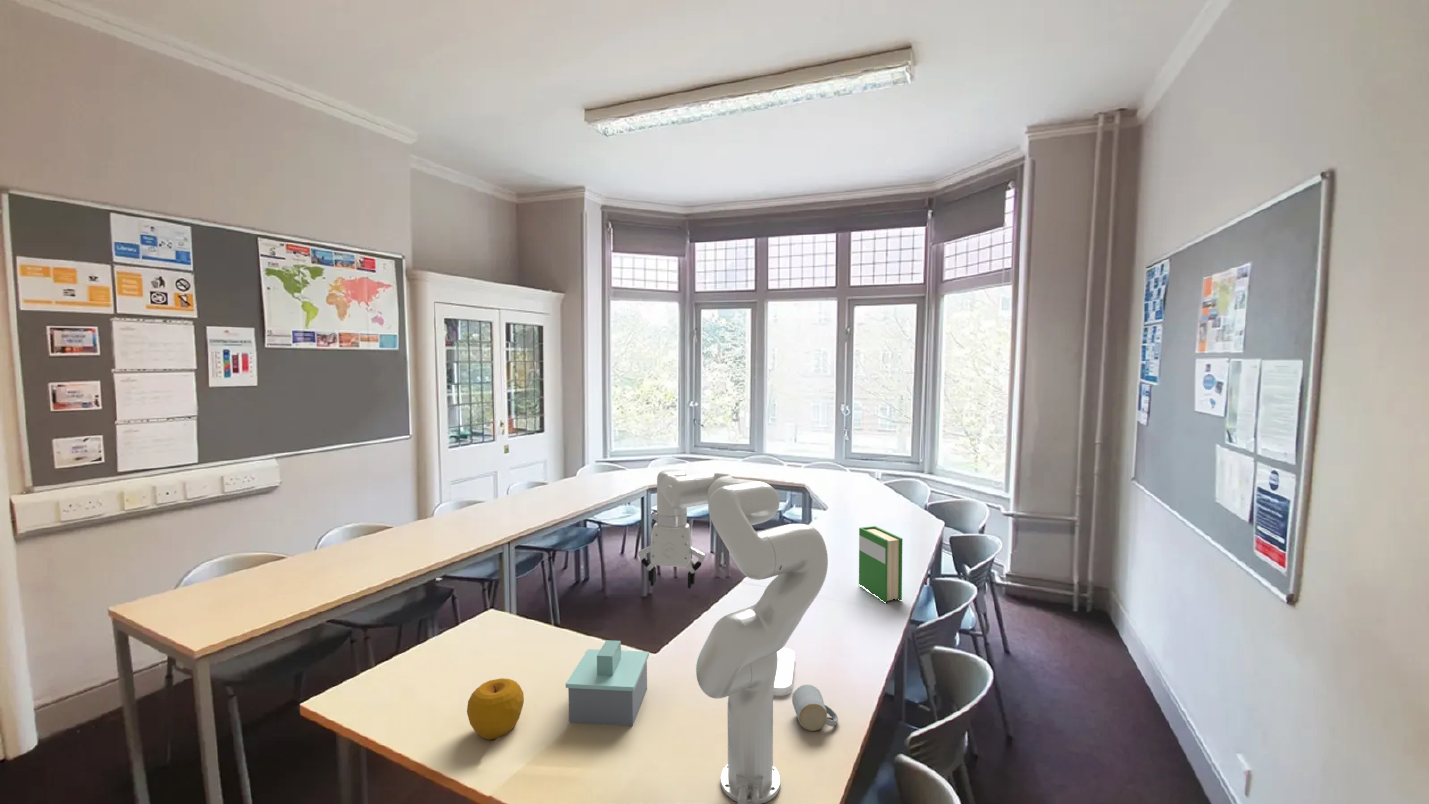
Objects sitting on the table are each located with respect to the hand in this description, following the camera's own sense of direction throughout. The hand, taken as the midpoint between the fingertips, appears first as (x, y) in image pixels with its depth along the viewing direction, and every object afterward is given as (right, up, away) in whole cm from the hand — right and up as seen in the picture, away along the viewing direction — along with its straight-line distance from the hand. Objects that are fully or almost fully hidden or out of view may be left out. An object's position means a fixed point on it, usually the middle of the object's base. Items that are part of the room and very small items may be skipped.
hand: (671, 585), depth 141 cm
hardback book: (+75, -28, +75) cm, 110 cm away
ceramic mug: (+36, -33, -4) cm, 49 cm away
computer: (+23, -32, +20) cm, 44 cm away
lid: (-16, -24, +2) cm, 29 cm away
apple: (-42, -34, -6) cm, 54 cm away
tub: (-16, -33, +2) cm, 36 cm away
